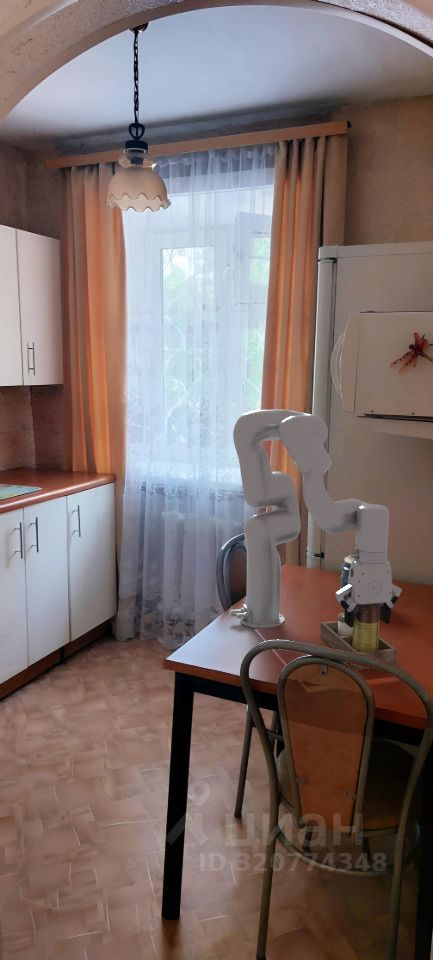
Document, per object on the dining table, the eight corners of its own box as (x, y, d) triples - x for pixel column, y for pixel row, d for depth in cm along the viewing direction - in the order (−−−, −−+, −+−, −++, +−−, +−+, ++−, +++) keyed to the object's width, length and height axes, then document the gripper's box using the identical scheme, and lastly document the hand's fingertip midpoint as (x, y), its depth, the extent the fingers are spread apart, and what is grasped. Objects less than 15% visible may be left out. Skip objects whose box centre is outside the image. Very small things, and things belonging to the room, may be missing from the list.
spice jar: (342, 648, 169) (343, 620, 168) (333, 639, 174) (334, 613, 173) (361, 645, 171) (363, 618, 169) (352, 637, 176) (353, 611, 174)
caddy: (355, 673, 157) (356, 654, 156) (320, 639, 176) (320, 622, 175) (395, 668, 160) (396, 649, 159) (356, 636, 179) (357, 619, 178)
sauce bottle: (360, 650, 168) (364, 575, 165) (382, 658, 163) (386, 580, 160) (346, 658, 163) (350, 580, 160) (368, 666, 159) (372, 586, 156)
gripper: (345, 562, 153) (341, 632, 156) (411, 558, 158) (406, 626, 160) (331, 554, 160) (328, 621, 163) (394, 549, 165) (390, 615, 167)
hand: (367, 623), depth 162 cm, fingers open, 9 cm apart
